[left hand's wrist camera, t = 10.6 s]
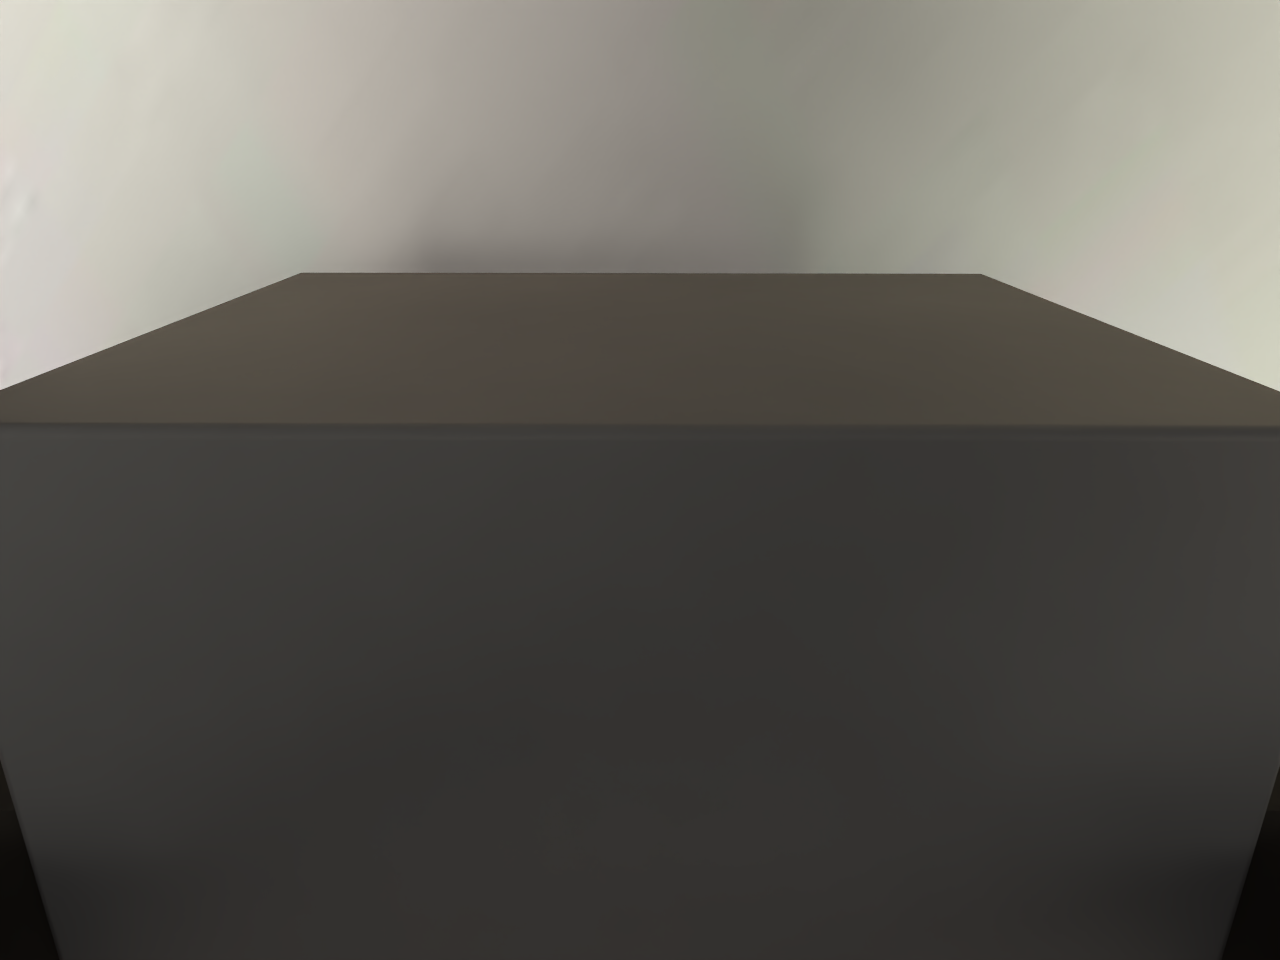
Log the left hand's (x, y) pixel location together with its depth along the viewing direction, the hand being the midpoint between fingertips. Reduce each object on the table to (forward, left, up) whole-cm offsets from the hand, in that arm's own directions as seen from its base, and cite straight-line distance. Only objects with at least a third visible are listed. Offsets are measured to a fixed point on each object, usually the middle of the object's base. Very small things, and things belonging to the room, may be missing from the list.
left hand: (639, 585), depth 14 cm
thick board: (+29, +6, -1) cm, 30 cm away
